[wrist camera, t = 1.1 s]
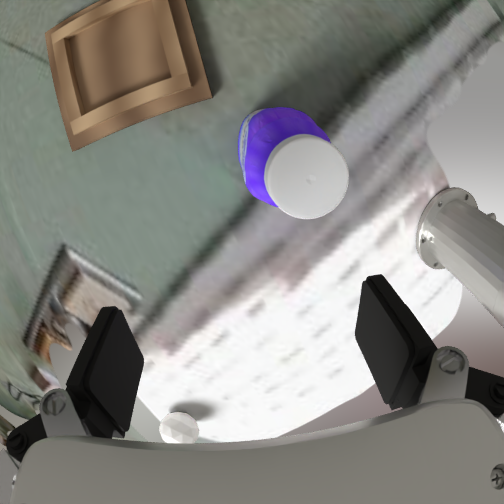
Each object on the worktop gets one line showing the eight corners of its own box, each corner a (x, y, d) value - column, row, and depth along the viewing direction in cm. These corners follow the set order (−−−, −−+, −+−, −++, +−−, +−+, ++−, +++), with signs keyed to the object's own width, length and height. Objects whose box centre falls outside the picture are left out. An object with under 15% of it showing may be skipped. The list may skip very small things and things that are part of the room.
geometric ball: (173, 400, 52) (158, 413, 44) (208, 417, 51) (198, 433, 43) (163, 426, 51) (148, 442, 43) (197, 443, 50) (186, 461, 42)
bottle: (238, 107, 26) (252, 100, 11) (294, 110, 27) (372, 114, 12) (236, 175, 30) (246, 252, 14) (289, 177, 30) (352, 252, 15)
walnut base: (178, -24, 18) (174, -34, 16) (212, 97, 26) (211, 96, 23) (51, 34, 19) (39, 31, 17) (78, 149, 26) (67, 153, 24)
